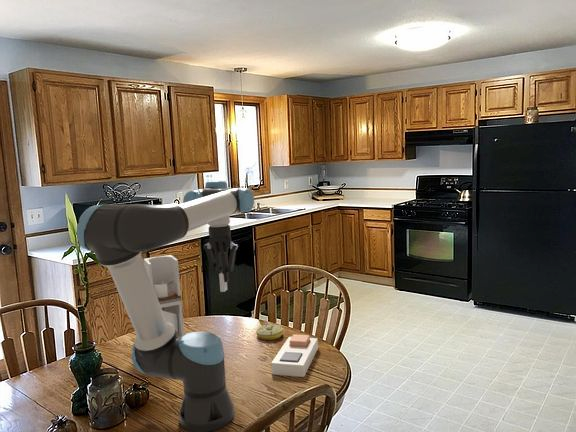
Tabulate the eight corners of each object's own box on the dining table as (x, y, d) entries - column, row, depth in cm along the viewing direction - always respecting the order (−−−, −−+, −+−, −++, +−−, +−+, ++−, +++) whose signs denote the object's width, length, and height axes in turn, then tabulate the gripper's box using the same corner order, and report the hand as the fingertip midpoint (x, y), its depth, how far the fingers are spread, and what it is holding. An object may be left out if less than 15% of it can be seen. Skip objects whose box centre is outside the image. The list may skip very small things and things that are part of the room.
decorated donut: (267, 329, 191) (267, 320, 191) (288, 334, 185) (287, 325, 185) (251, 338, 183) (251, 329, 182) (272, 343, 177) (272, 334, 176)
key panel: (304, 377, 148) (303, 365, 148) (271, 374, 151) (271, 362, 151) (318, 348, 169) (317, 338, 169) (289, 346, 172) (289, 336, 172)
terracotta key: (306, 349, 162) (305, 341, 162) (289, 348, 164) (289, 340, 163) (309, 342, 168) (309, 335, 167) (294, 341, 169) (293, 334, 169)
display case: (152, 344, 182) (143, 258, 177) (178, 338, 186) (171, 254, 182) (157, 354, 171) (148, 264, 167) (185, 348, 176) (177, 259, 171)
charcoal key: (297, 369, 151) (297, 360, 150) (280, 367, 152) (280, 359, 152) (302, 361, 157) (301, 352, 156) (285, 359, 158) (285, 351, 158)
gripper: (240, 223, 160) (245, 288, 163) (207, 223, 164) (212, 286, 167) (231, 226, 153) (236, 294, 156) (197, 226, 157) (202, 293, 160)
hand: (223, 290), depth 162 cm, fingers closed
